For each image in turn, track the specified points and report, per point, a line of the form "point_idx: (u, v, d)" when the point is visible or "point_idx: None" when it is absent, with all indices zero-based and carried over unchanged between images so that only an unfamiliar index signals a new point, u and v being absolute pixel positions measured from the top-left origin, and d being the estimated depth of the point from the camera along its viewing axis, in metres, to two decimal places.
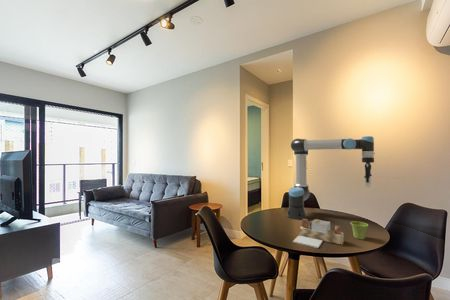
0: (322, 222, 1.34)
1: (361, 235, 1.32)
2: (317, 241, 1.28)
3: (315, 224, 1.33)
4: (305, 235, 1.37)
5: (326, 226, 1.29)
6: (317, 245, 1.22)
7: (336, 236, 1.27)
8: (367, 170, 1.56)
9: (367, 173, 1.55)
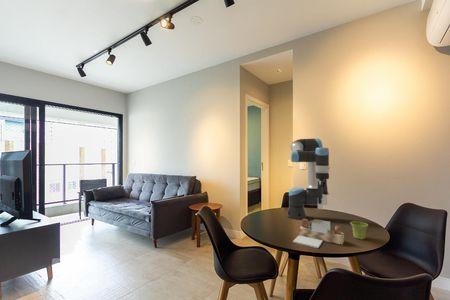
0: (322, 222, 1.34)
1: (361, 235, 1.32)
2: (317, 241, 1.28)
3: (315, 224, 1.33)
4: (305, 235, 1.37)
5: (326, 226, 1.29)
6: (317, 245, 1.22)
7: (336, 236, 1.27)
8: (319, 189, 1.29)
9: (319, 193, 1.28)
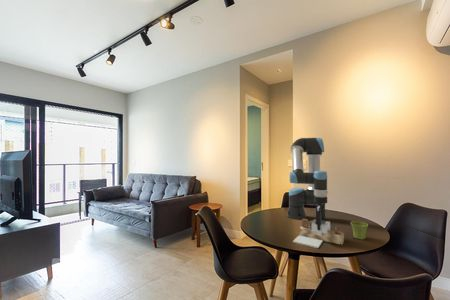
0: (322, 222, 1.34)
1: (361, 235, 1.32)
2: (317, 241, 1.28)
3: (315, 224, 1.33)
4: (305, 235, 1.37)
5: (326, 226, 1.29)
6: (317, 245, 1.22)
7: (336, 236, 1.27)
8: (318, 216, 1.29)
9: (318, 220, 1.29)
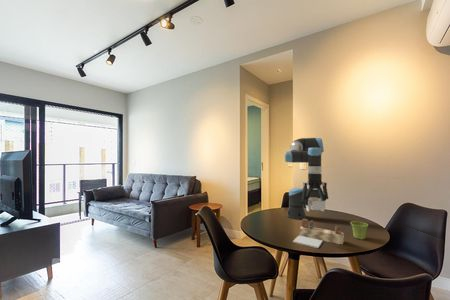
0: (315, 200, 1.31)
1: (361, 235, 1.32)
2: (317, 241, 1.28)
3: None
4: (305, 235, 1.37)
5: (311, 202, 1.28)
6: (317, 245, 1.22)
7: (336, 236, 1.27)
8: (303, 190, 1.32)
9: (303, 194, 1.32)
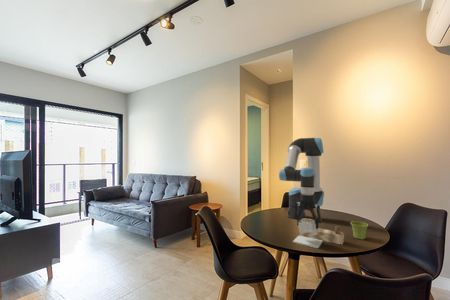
0: (306, 221, 1.28)
1: (361, 235, 1.32)
2: (317, 241, 1.28)
3: None
4: (305, 235, 1.37)
5: None
6: (317, 245, 1.22)
7: (336, 236, 1.27)
8: None
9: None
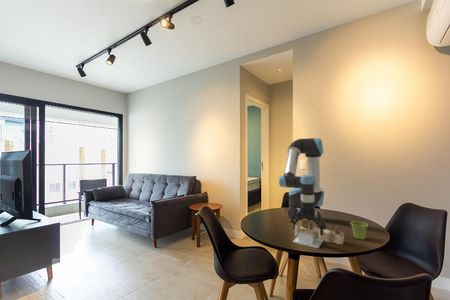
0: (306, 232, 1.28)
1: (361, 235, 1.32)
2: (317, 241, 1.28)
3: None
4: None
5: None
6: (317, 245, 1.22)
7: (336, 236, 1.27)
8: (293, 215, 1.34)
9: (292, 218, 1.34)
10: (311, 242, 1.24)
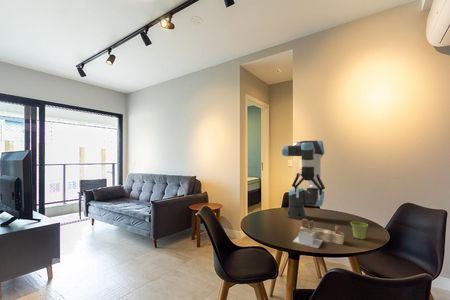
0: (306, 232, 1.28)
1: (361, 235, 1.32)
2: (317, 241, 1.28)
3: None
4: None
5: None
6: (317, 245, 1.22)
7: (336, 236, 1.27)
8: None
9: None
10: (311, 242, 1.24)
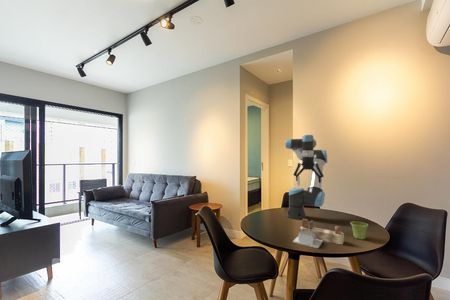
0: (306, 232, 1.28)
1: (361, 235, 1.32)
2: (317, 241, 1.28)
3: None
4: None
5: None
6: (317, 245, 1.22)
7: (336, 236, 1.27)
8: None
9: None
10: (311, 242, 1.24)
